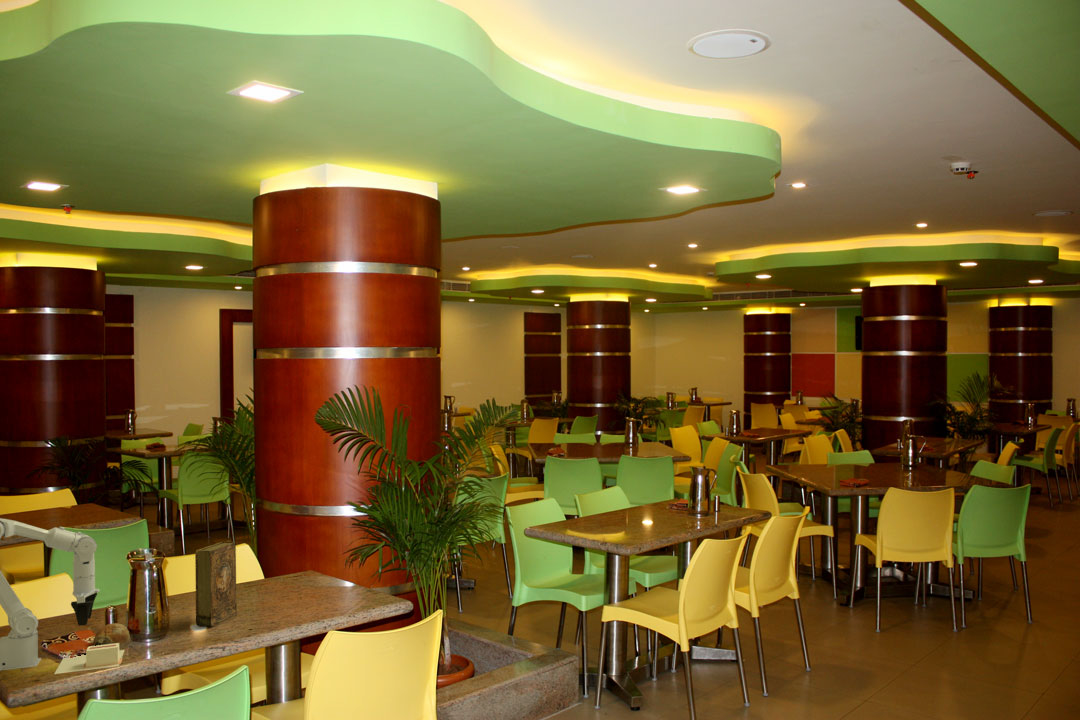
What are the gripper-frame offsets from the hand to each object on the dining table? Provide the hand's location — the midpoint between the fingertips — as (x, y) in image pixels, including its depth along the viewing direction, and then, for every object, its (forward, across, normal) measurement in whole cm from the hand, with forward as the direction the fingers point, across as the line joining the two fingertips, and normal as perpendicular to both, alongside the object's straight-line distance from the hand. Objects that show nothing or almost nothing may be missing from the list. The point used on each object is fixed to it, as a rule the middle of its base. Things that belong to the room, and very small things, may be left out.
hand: (84, 621), depth 254 cm
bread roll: (+10, +8, -6) cm, 14 cm away
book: (+10, +21, -37) cm, 44 cm away
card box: (+9, -14, -6) cm, 18 cm away
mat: (+9, -11, -3) cm, 15 cm away
